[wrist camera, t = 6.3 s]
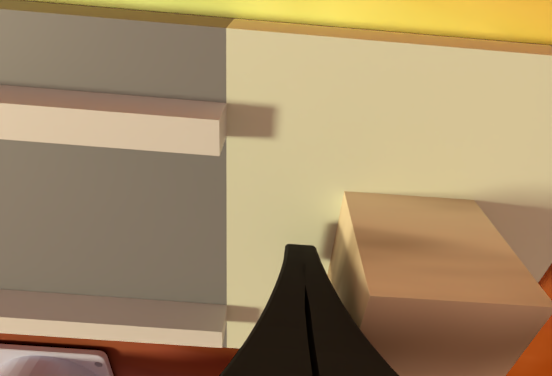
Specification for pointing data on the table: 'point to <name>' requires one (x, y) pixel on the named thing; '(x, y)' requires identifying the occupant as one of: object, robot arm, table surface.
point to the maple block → (434, 285)
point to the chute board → (237, 158)
